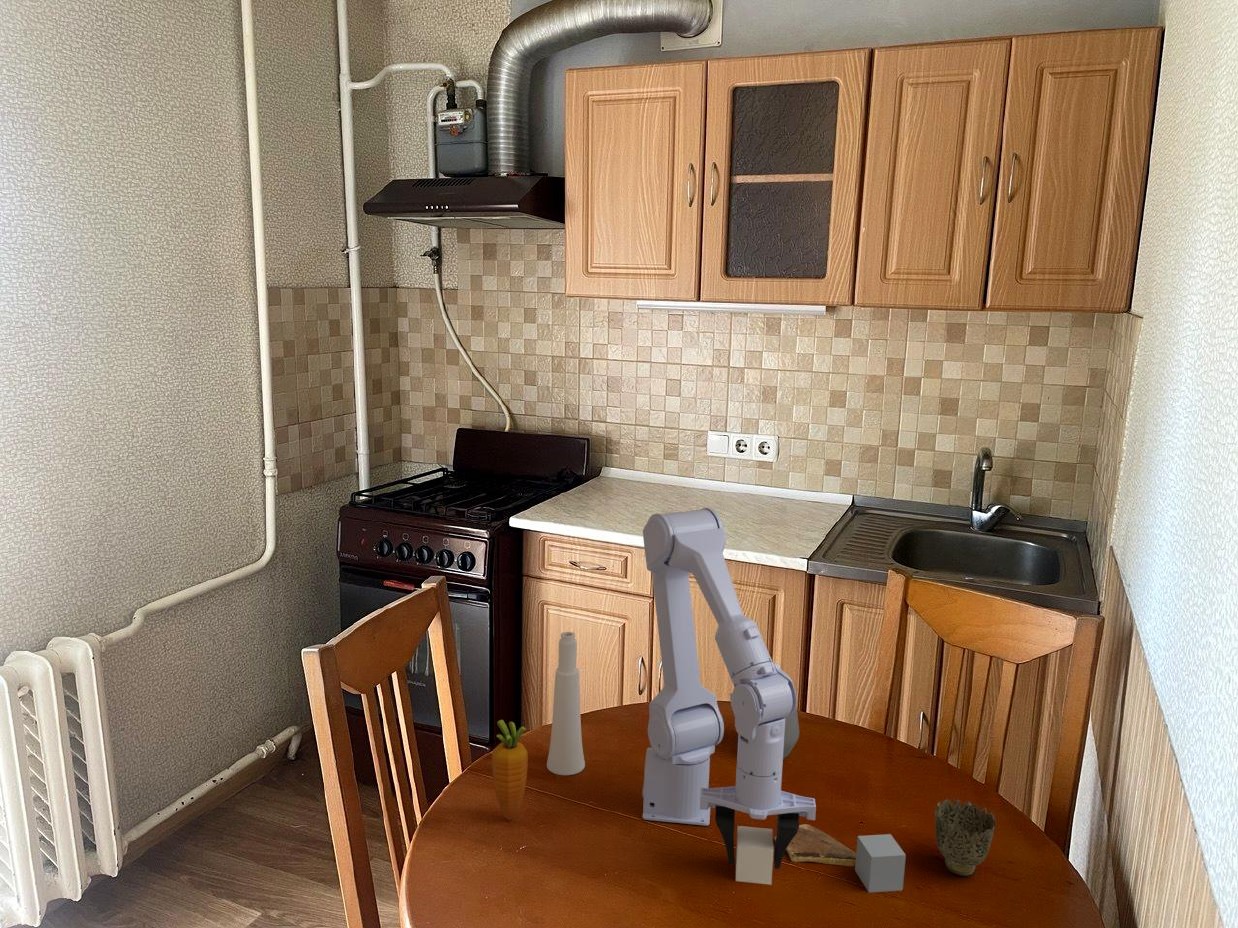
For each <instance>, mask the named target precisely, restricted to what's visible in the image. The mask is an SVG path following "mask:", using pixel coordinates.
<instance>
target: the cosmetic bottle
mask: <svg viewBox="0 0 1238 928" xmlns="http://www.w3.org/2000/svg"><path fill="white" fill-rule="evenodd" d="M577 643H578V642H577V639H576V634H575V633H574V632H572V631H565V632H561V633H560V639H559V640H558V663H557V665H558V667H557V668H556V669H555V673H554V674H555V675H554V687H553V688H554V690H553V707H552V721H551V722H552V723H551V733H550V734H551V735H550V744H549V749H548V750H549V751H548V755H547V756H548V757H547V761H546V768H547V769H548V771H549V772H550V773H552V774H555V775H558V776H572V775H573V776H574V775H576V774H578V773H581V772H582V771H583V770H584V769H585V767H586V762H585V757H584V756H585V755H584V751H583V750H584V749H583V742H582V741H583V738H582V726H581V725H582V722H581V720H582V719H581V717H582V716H581V693H580V692H581V690H580V689H581V686H580V670H579V669H578V668H577V658H578V657H577V655H578V654H577V653H578V652H577V650H578V649H577Z"/></svg>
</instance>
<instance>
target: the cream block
mask: <svg viewBox="0 0 1238 928" xmlns="http://www.w3.org/2000/svg"><path fill="white" fill-rule="evenodd" d="M736 833H737V834H736V848H735V849H736V851H735V852H736V854H735V882H742V883H743V882H744V883H751V884H752V883H753V884H758V885H759V884H761V885H768V886H769V885H770V886H772V884H773V883H772V881H773V867H774V866H773V865H774V849H775V848H774V837H773V836H774V835H773V828H765V827H763V828H762V827H753V826H752V827H751V826H745V825H737V831H736Z"/></svg>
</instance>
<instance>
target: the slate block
mask: <svg viewBox="0 0 1238 928" xmlns="http://www.w3.org/2000/svg"><path fill="white" fill-rule="evenodd" d="M855 853H856V864H855V866H854V871H855V873H856V875H857V876H858V878H859V880H860V881H861V882H862V883H863V885H864V887H865V889H866V891H867V892H868V893H881V892H884V893H885V892H896V891H903V888H904V878H905V871H906V870H905V869H906V859H907V858H906V857H907V855H906V853H905V852H904V851H903V848H901V846H900V845H899V844H898V841H896V840H895V838H894V837H893V835H892V834H891V833H887V834H870V835H867V834H866V835H858V836H857V840H856V850H855Z"/></svg>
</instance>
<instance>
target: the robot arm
mask: <svg viewBox="0 0 1238 928" xmlns="http://www.w3.org/2000/svg"><path fill="white" fill-rule="evenodd" d="M642 538H643V546H644V554H645V555H644V557H645V565H646V569H647V571H649V572H651V577H652V586H653V588H652V589H653V594H654V597H653V598H654V603H655V613H656V622H657V624H656V625H657V630H658V638H659V639H658V641H659V649H660V656H661V657H660V658H661V659H660V660H661V667H662V676H663V678H662V679H663V685H664V686H663V687H662V689H661V690H660V691H659V692H658V693H657V695H656V696H654V698H652V700H651V701H650V702H649V704H648V708H649V709H648V710H649V720H648V725H647V735H648V741H649V744H650V746H651V747H647V749H646V754H645V761H644V772H643V773H644V776H643V786H642V795H641V796H642V798H643V805H642V807H643V809H642V819H643V820H644V821H645V820H647V821H653V822H654V821H656V822H664V823H666V822H667V823H675V824H677V823H678V824H687V825H697V826H709V825H710V820H711V818H710V817H711V808H713V809H715V813H714V815H715V816H714V817H715V818H714V820H715V823H716V826H717V828H718V830H719V832H720V834H721V836H722V839H723V841H724V845H725V848H726V849H725V850H726V853H727V861H728V862H727V863H728V864H729V865H734V864H735V863H734V862H735V841H734V840H735V838H734V837H735V821H736V820H735V818H736V817H735V815H736V814H735V812H736V811H739V812H742V813H745V814H748V815H749V817H750V818H751V819H753V820H754V819H756V820H766V819H767V816H775V815H777V818H776V819H777V820H776V821H777V822H776V835H775V837H776V841H775V843H774V848H773V849H774V850H773V865H774V866H773V867H774V869H775V870H776V869H777V870H780V869H781V866H782V865H781V864H782V861H783V858H784V856H785V854H786V852H787V850H786V849H787V847H788V845H789V843H790V842H791V840H792V839H793V838H794V836H795V835H796V834H797V832H798V829H799V825H800V821H799V820H800V817H805V819H806V820H808V821H816V811H817V805H816V799H815V798H813V797H808V796H807V797H806V796H802V795H798V794H795V793H791V792H787V791H783V790H782V779H783V778H782V777H783V764H784V763H783V761H784V759H783V749H784V733H785V719H784V717H786V716H789V715H791V714H792V713H793V712H794V711H795V708H796V706H797V704H798V703H797V701H798V698H797V692H796V688H795V686H794V681H793V680H792V678H791V676H789V675H788V674H787V673H786V672H785V671H784V670H782V668H781V667H780V664H778V663H777V662H773V659H772V657H771V656H770V653H769V651H768V648H767V646H766V643H765V642H764V638H763V636H762V634H761V632H760V629H759V627H758V624H757V623H756V621H755V620H753V619H751V618H749V617H747V616H745V615H744V613H743V611H742V608H741V604H740V601H739V598H738V595H737V593H736V590H735V586H734V584H733V581H732V577H731V574H730V571H729V569H728V565H727V563H726V560H725V556H724V550H725V547H726V541H727V534H726V532H725V530H724V526H723V522H722V520H721V517H720V515H719V514H718V512H716V510H714V509H713V508H710V507H703V508H701V509H695V510H694V509H693V510H684V511H683V510H682V511H677V512H668V513H658V512H657V513H653V514H652V515H651V516H650V517H649V518H648V520H647V522H646V524H645V525H644V527H643V529H642ZM691 574H692V575H693V577H694V579H695V580H696V583H697V585H698V587H699V589H700V591H701V593H702V596H703V597H704V599H705V601H706V603H707V605H708V608H709V609H710V610H711V613H712V615H713V616H714V619H715V620H716V623H717V629H716V632H715V634H714V641H715V642H716V645H717V647H718V650H719V652H720V654H721V658H722V660H723V663H724V665H725V667H726V670H727V672H728V675H729V677H730V679H731V682H732V685H733V687H734V688H733V690H732V693H730V694H729V700H730V705H731V709H732V712H733V715H734V727H735V731H736V732H737V734H738V735H737V736H738V737H737V756H736V757H737V758H736V774H735V775H736V776H735V785H733V786H731V785H730V786H723V787H712V788H711V787H710V786H709V785H710V783H709V782H710V767H711V766H710V764H711V763H710V762H711V755H712V754H714V753H715V749H716V746H717V745H719V744H721V741H723V737H724V734H725V733H724V732H725V724H724V719H723V716H722V713H721V712H720V709H719V705H718V702H717V695H716V694H715V693H714V692H713V691H711V690H710V689H708V688H706V687H705V686H704V685H702V684H701V675H700V666H699V656H698V650H697V649H698V648H697V641H696V639H697V637H696V631H695V623H694V612H693V605H692V604H693V603H692V595H691V588H690V587H691V585H690V575H691Z"/></svg>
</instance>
